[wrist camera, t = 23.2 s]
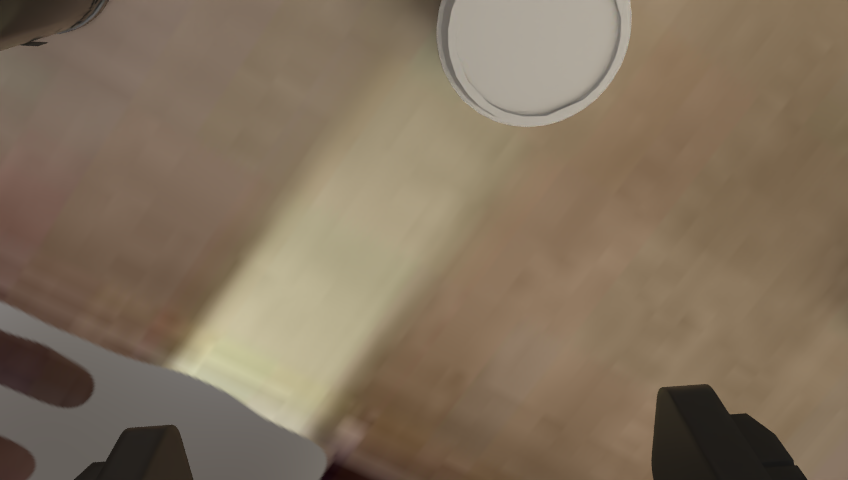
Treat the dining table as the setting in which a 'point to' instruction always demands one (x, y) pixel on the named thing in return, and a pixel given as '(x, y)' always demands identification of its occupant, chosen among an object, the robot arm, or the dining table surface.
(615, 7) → the disposable coffee cup
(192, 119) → the dining table surface
